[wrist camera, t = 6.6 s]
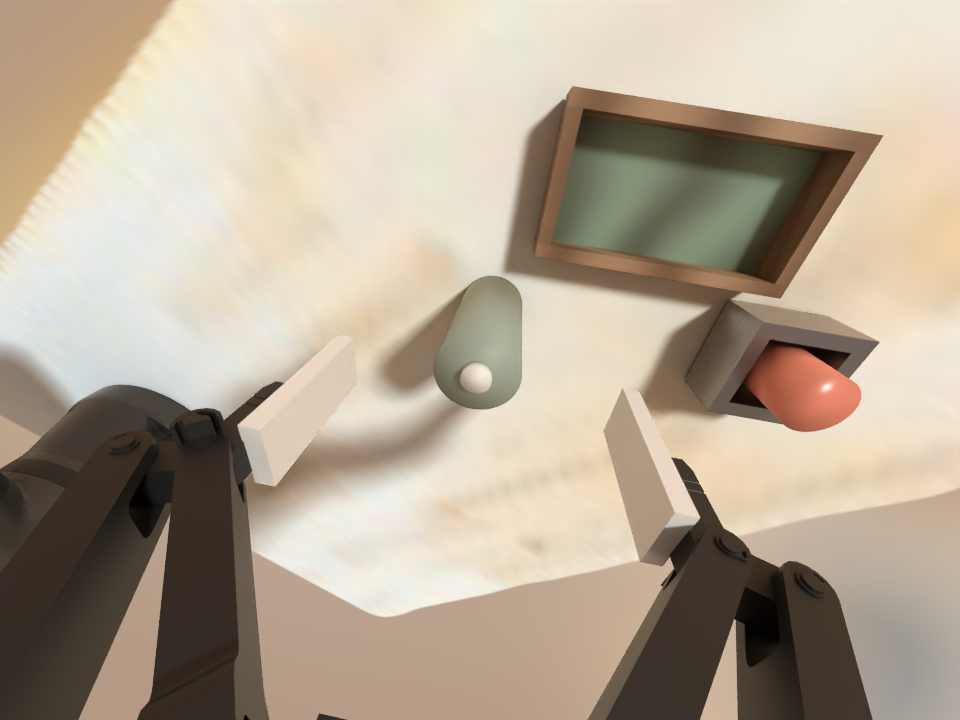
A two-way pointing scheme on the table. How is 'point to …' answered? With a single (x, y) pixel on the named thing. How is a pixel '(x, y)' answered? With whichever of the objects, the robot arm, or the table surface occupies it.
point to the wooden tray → (693, 190)
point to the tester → (745, 339)
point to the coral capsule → (801, 388)
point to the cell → (483, 346)
